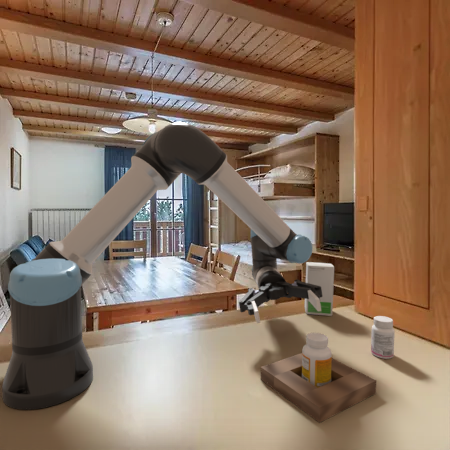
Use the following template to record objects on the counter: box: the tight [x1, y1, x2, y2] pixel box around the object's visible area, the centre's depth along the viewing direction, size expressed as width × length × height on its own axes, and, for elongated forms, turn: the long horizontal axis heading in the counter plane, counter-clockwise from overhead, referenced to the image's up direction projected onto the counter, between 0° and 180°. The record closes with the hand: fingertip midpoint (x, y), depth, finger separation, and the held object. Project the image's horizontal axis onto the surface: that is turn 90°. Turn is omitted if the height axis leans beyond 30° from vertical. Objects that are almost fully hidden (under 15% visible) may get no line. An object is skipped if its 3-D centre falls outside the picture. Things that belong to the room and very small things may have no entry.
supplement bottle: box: [301, 332, 333, 388], centre depth 62 cm, size 5×5×10 cm
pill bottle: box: [370, 315, 395, 360], centre depth 75 cm, size 5×5×8 cm
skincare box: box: [304, 261, 335, 317], centre depth 103 cm, size 8×7×16 cm
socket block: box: [260, 352, 377, 423], centre depth 62 cm, size 15×15×2 cm
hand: (288, 311), depth 70 cm, fingers open, 13 cm apart
